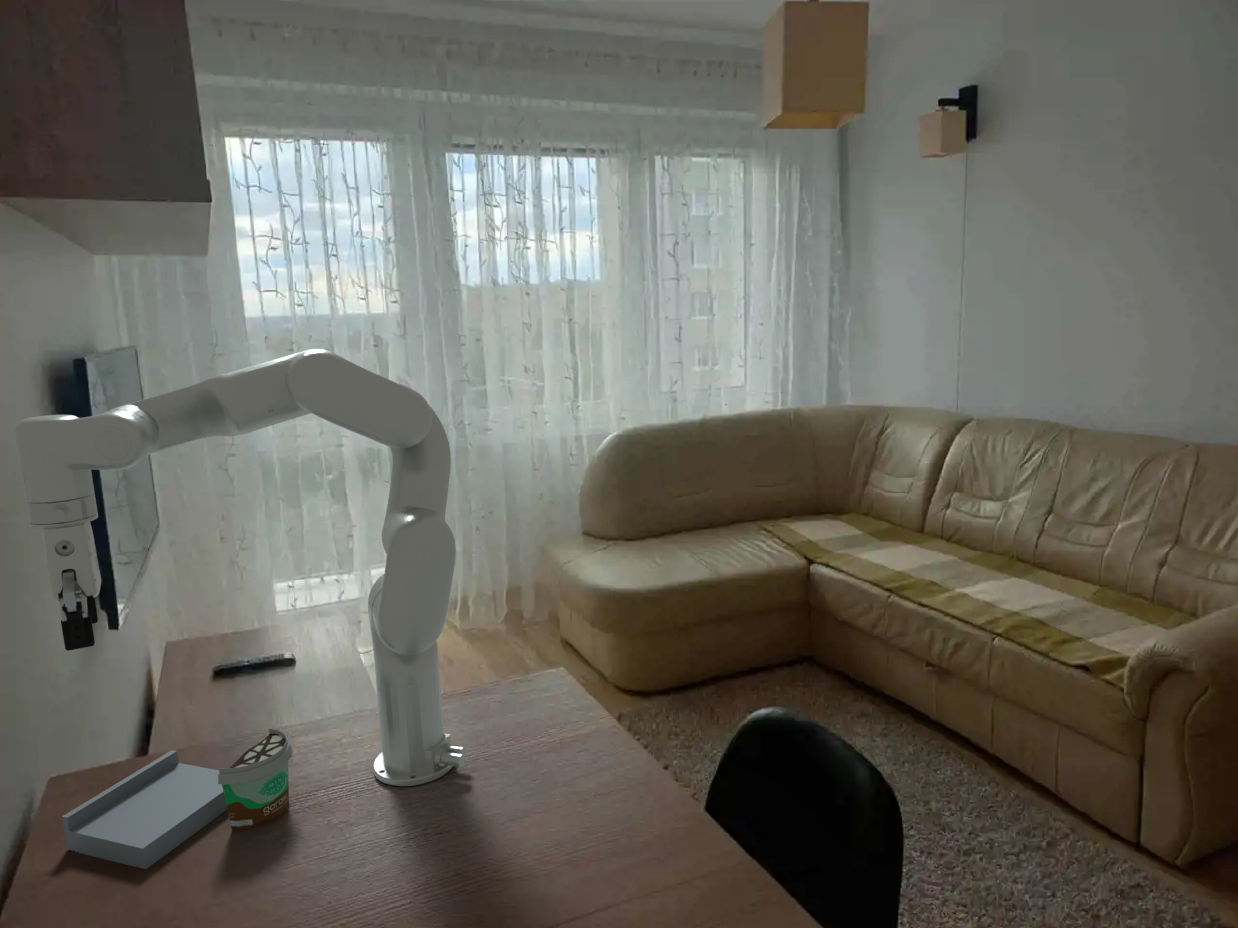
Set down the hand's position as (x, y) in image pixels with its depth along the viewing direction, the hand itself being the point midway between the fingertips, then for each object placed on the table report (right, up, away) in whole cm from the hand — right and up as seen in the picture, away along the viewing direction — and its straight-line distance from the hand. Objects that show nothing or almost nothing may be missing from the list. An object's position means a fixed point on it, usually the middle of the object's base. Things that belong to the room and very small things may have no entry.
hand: (82, 635), depth 111 cm
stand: (+6, -28, +8) cm, 30 cm away
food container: (+22, -28, +9) cm, 36 cm away
